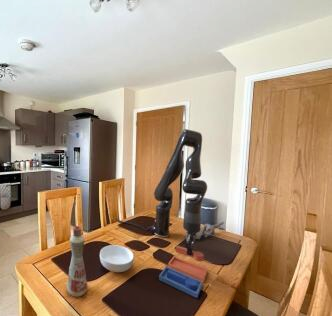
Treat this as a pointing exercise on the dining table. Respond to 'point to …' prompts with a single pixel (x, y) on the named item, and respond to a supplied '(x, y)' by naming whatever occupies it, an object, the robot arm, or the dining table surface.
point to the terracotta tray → (188, 268)
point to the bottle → (77, 265)
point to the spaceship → (208, 230)
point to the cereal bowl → (116, 258)
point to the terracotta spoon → (195, 254)
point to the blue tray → (178, 285)
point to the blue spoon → (182, 280)
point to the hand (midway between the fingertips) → (189, 253)
